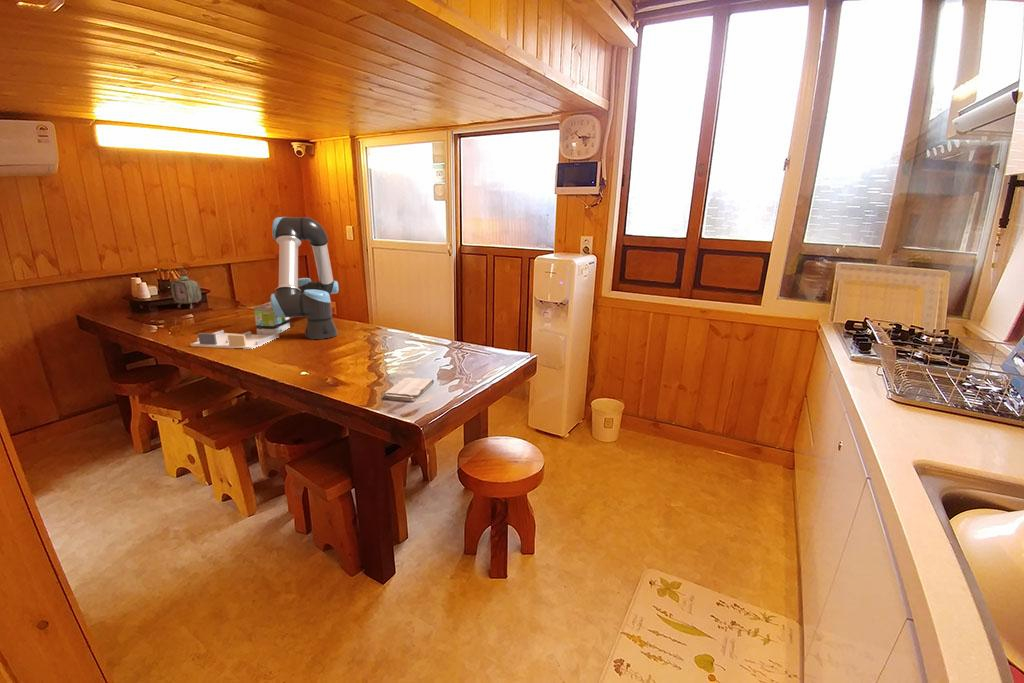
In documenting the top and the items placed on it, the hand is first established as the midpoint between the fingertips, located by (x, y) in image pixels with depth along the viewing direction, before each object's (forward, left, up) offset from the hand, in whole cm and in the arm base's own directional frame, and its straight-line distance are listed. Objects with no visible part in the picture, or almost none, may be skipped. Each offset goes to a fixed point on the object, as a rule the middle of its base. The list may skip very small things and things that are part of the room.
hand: (272, 316), depth 231 cm
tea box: (0, 0, -8) cm, 8 cm away
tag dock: (+6, +20, -8) cm, 23 cm away
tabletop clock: (+89, -44, -8) cm, 99 cm away
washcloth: (-97, +65, -9) cm, 117 cm away
